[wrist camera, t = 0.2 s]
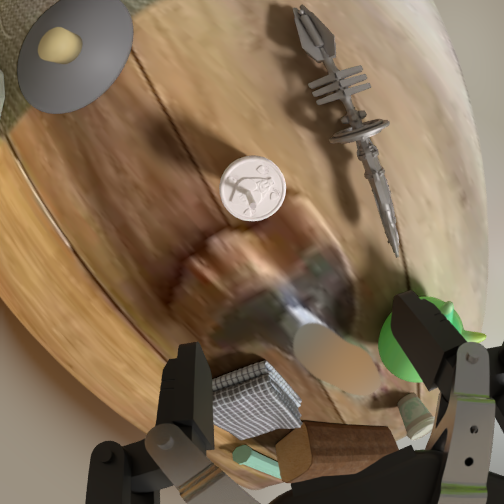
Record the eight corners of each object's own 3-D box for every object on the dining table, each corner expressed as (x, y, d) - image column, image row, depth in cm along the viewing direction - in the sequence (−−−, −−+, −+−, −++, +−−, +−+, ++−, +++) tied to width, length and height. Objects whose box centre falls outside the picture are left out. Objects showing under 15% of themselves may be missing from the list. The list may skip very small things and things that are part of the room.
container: (293, 481, 70) (248, 464, 59) (276, 480, 73) (229, 462, 62) (296, 465, 75) (253, 444, 64) (279, 465, 77) (235, 443, 67)
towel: (264, 351, 50) (270, 385, 43) (302, 398, 58) (310, 427, 51) (193, 381, 52) (191, 414, 45) (241, 422, 60) (244, 450, 53)
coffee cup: (420, 385, 63) (440, 417, 53) (418, 399, 67) (435, 430, 56) (392, 399, 64) (410, 433, 53) (392, 413, 68) (408, 445, 57)
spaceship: (373, 279, 36) (430, 264, 33) (260, 11, 24) (325, -14, 21) (370, 250, 43) (418, 237, 39) (276, 26, 31) (329, 6, 27)
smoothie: (210, 161, 35) (205, 186, 23) (256, 137, 35) (278, 150, 22) (233, 204, 38) (241, 252, 26) (278, 182, 38) (309, 218, 25)
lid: (20, 25, 22) (0, 19, 17) (130, -24, 23) (118, -40, 18) (28, 131, 30) (6, 135, 25) (141, 89, 31) (129, 85, 26)
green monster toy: (349, 335, 51) (381, 396, 38) (408, 261, 45) (460, 311, 32) (403, 356, 56) (434, 404, 43) (453, 296, 51) (495, 339, 38)
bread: (360, 448, 76) (372, 482, 64) (272, 444, 66) (280, 489, 54) (389, 424, 72) (406, 460, 59) (302, 418, 62) (316, 468, 49)
